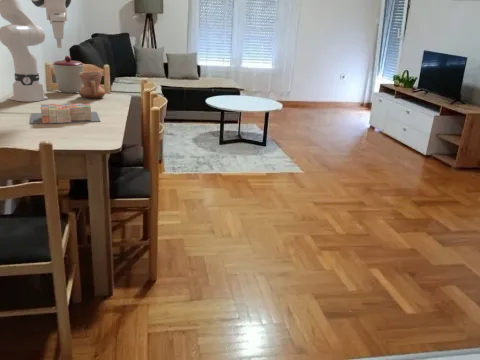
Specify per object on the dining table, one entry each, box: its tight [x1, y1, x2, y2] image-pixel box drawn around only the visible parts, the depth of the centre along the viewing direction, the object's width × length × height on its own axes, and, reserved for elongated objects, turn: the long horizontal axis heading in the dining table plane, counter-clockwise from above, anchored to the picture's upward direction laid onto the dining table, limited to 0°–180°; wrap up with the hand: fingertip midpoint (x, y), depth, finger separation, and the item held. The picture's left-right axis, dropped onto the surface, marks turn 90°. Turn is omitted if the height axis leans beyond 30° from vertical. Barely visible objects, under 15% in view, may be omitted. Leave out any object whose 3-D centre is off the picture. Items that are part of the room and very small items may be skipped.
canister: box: [51, 55, 85, 94], centre depth 273 cm, size 18×18×21 cm
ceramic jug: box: [78, 70, 106, 100], centre depth 261 cm, size 18×14×14 cm
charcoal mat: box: [29, 111, 101, 125], centre depth 216 cm, size 20×30×1 cm, turn 111°
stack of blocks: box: [40, 103, 92, 124], centre depth 211 cm, size 21×6×12 cm
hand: (59, 47), depth 214 cm, fingers closed
